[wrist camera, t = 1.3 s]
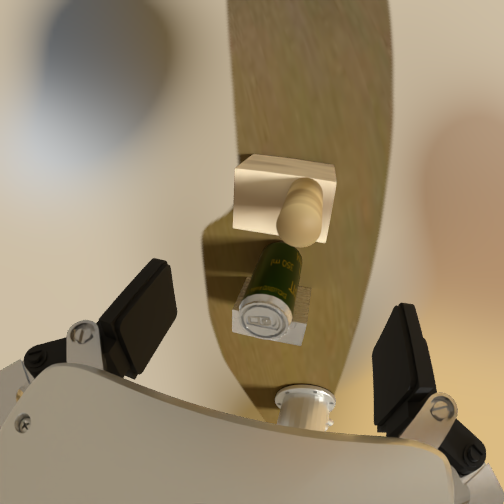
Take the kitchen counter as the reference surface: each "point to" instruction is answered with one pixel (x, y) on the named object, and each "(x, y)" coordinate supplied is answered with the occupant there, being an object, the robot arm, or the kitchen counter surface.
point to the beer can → (271, 292)
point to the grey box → (298, 320)
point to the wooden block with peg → (284, 198)
